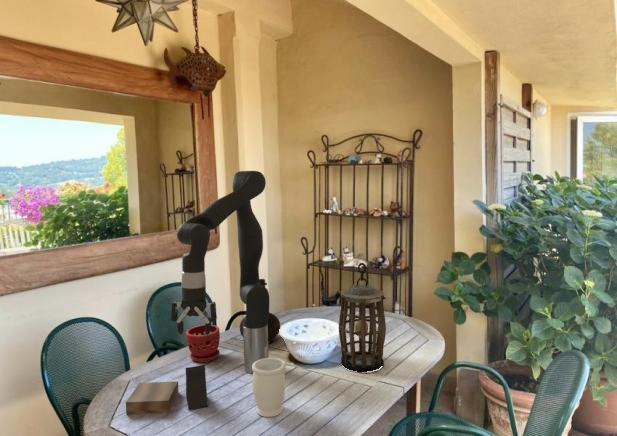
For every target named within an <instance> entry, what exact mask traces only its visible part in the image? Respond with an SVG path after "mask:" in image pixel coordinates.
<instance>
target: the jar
mask: <svg viewBox="0 0 617 436" xmlns="http://www.w3.org/2000/svg"><path fill="white" fill-rule="evenodd" d="M285 367H286V362H284V361H283V360H282V359H279V358H275V357H269V358H265V359H260V360H257V361H255V362H254V363H253V364H252V370H253V371H254V372H253V373H252V377H251V378H252V380H251V384H252V385H251V387H252V393H253V396H254V397H253V398H254V402H255V404H256V409H255V410H256V413H257V414H258V415H259V416H261V417H265V418H272V417H276V416H278V415H280V414H282V412H283V405H282V404H283V402H284V398H285V390H286V374H285V371H284V370H285Z"/></svg>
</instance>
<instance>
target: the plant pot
mask: <svg viewBox="0 0 617 436" xmlns="http://www.w3.org/2000/svg"><path fill="white" fill-rule="evenodd" d="M185 334H186V335H185V336H186V343H187V346H188V350H189V352H190V355H189V356H190V359H191V360H193V362H197V363H198V362H199V363H206V362H210V361H213V360H215V359H216V358H217V357H219V355H220V350H219V346H220V341H221V340H220V338H221V337H220V336H221V335H220V334H221V332H220V327H219V326H217V325H215V324H211V331H210V333H209V334H208V335H205V324H201V325H197V326H192V327H191V328H189V329H187V330H186V333H185ZM194 334H195V335H194Z"/></svg>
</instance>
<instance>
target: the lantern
mask: <svg viewBox="0 0 617 436" xmlns="http://www.w3.org/2000/svg"><path fill="white" fill-rule="evenodd" d="M361 266H363V267H364V270H363V269H360V268H361ZM357 271H358V273H360V277H359V278H358V279H357V280H356V283H354V284H350V285H349V287H348V288H345V289H343V290H340V291H339V293H340V298H339V299H340V300H341V301H340V312H339V317H338V336H339V342H340V343H339V344H340V348H341V349H340V351H341V359H340V360H341V361H340V364H342V365H343V366H344V367H345V368H347V369H349V370H353V371H357V372H367V371H373V370H376V369H379V368H380V367H381V366H383V365H384V366H385V362H384V358H383V357H384V347H385V341H386V332H387V331H386V329H387V323H386V316H385V309H384V300H386V299H387V298H386V297H385V293H384V291H383V290H380V289H377V288H375V285H373V284H370V283H368V280H367V279H366V278H365V277H364V275H365V273H366V272H367V266H366V264H365V263H364V262H360V263H358V265H357ZM360 281H361V282H363V281H364V282H365V283H359V282H360ZM357 308H358V315H356V309H357ZM366 308H367V309H368V315H366V313H367V311H366V310H367V309H366ZM348 311H349V313H348ZM347 318H348V319H347ZM376 318H377V319H376ZM368 322H369V325H368ZM347 324H348V329H349V330H348V329H346V328H347ZM347 334H349V342H348V341H347ZM355 335H356V336H357V337H358V340H355ZM367 336H368V340H366V337H367ZM356 344H358V351H356ZM366 345H368V347H367V348H366ZM348 346H349V348H348ZM348 349H350V352H349V350H348ZM366 349H368V350H366ZM342 365H341V366H342ZM344 367H343V368H344ZM345 368H344V369H345ZM347 369H346V370H347Z"/></svg>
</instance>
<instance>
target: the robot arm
mask: <svg viewBox="0 0 617 436" xmlns="http://www.w3.org/2000/svg"><path fill="white" fill-rule="evenodd" d="M266 182H267V181H266V178H265V175H264V174H263V173H262V172H260V171H258V170H239V171H237V172H235V174H234V175H233V178H232V192H229V194H226V195H224V196H222V197H220V198H218V199H216V200H215V201H213V202H212V203H211V204H210V205H208V206H207V207H206V208H205V209H204V210H203V211H201V212H200V213H198V214H196V215H194V216H192V217H191V218H189V219H187V220H186V221H184V222H183V223H182V224H181V225H180V226H179V228H178V229H177V233H176V237H177V239H178V241H179V242H180V243H181V244H183V245H189V246H190V249H189V252H185V253H184V254H183V255H182V259H181V260H182V261H181V266H182V267H181V268H182V269H181V270H182V272H181V282H180V284H181V302H178V300H177V301H175V300H174V302H173V303H171V318H170V320H171V322H176V323H177V324H176V325H177V333H178V334H179V335H183V334H184V321H183V320H184V318H185V317H186V316H188V317H200V318H201V319H202V320H203V321H204V323H205V324H204V325H205V332H204V334H205V335H208V334H209V333H211V332H210V331H211V325H212V323H213V322H215V321H216V320H217V319H218V318H217V303H216V302H215V301H212V302H207V300H206V299H207V296H206V295H207V293H206V292H207V291H206V290H207V289H206V288H207V285H206V283H207V282H206V270H205V269H206V268H205V267H206V265H205V262H206V261H205V258H206V255H207V251H208V247H209V244H210V243H209V242H210V231H212V230H215V229H217V228H218V227H219V226H220V225H221V224H222V223H223V222H225V220H226V219H227V218H228V217H229V216H231V215H232V214H233V213H236V225H237V244H238V245H237V247H238V254H239V255H238V257H239V260H238V261H239V268H240V276H239V279H240V280H239V296H240V300H241V301H242V303H244V305H245V316H244V317H243V318H242V319H243V336H242V338H243V361H244V362H243V364H244V367H243V368H244V371H245V372H246V373H249V374H253V372H254V371H253V370H252V364H253V363H254V362H255V361H257V360H260V359H265V358H270V354H269V343H268V318H269V312H270V293H269V290H268V289H267V288H266V286H265V287H264V286H263V285H261V284H260V280H259V279H260V271H259V268H260V261H261V259H262V256H263V250H264V235H263V229H262V227H261V224H260V222H259V221H258V218H257V217H256V215H255V214H254V211H253V209H252V203H251V200H254V199H255V198H257V197H258V196H259V195H261V194H262V193H263V192H264V191H265V189H266ZM179 308H181V309H182V310H183V311H182V313H181V315H180V316H178V311H179ZM207 308H208V310H209V311H210V316H209V313H208V312H207V310H206V309H207Z"/></svg>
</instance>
